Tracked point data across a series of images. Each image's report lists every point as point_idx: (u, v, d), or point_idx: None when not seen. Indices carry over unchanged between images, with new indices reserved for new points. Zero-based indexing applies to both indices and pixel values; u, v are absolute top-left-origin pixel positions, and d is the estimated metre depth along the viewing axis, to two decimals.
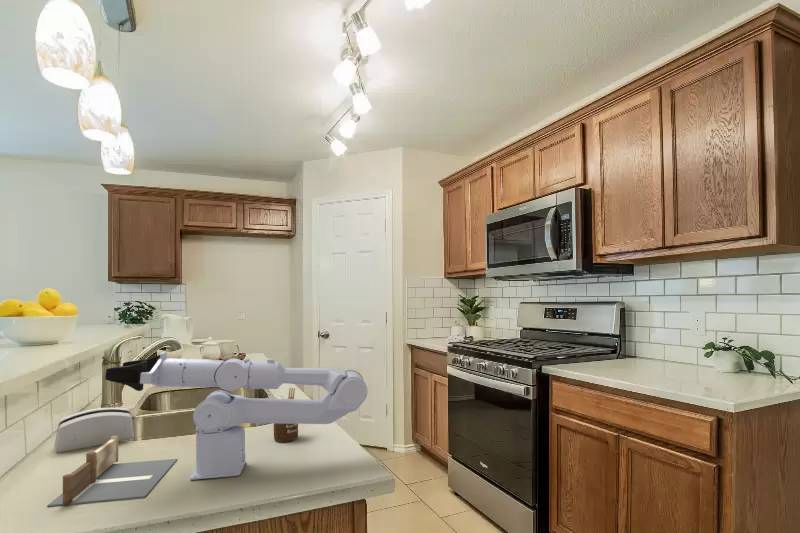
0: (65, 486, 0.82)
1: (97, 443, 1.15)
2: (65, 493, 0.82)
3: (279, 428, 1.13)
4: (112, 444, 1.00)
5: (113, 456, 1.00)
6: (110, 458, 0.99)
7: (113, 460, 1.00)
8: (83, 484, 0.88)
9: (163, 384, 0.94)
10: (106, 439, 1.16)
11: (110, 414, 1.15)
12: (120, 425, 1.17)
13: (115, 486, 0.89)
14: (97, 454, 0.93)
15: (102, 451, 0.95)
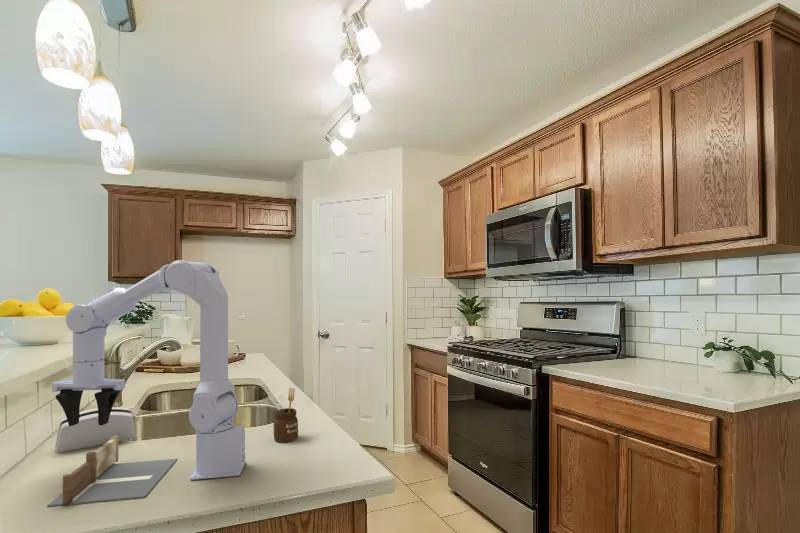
0: (65, 486, 0.82)
1: (98, 443, 1.16)
2: (65, 493, 0.82)
3: (279, 428, 1.13)
4: (112, 444, 1.00)
5: (113, 456, 1.00)
6: (110, 458, 0.99)
7: (113, 460, 1.00)
8: (83, 484, 0.88)
9: (73, 380, 0.98)
10: (107, 439, 1.17)
11: (111, 414, 1.16)
12: (121, 425, 1.18)
13: (115, 486, 0.89)
14: (97, 454, 0.93)
15: (102, 451, 0.95)
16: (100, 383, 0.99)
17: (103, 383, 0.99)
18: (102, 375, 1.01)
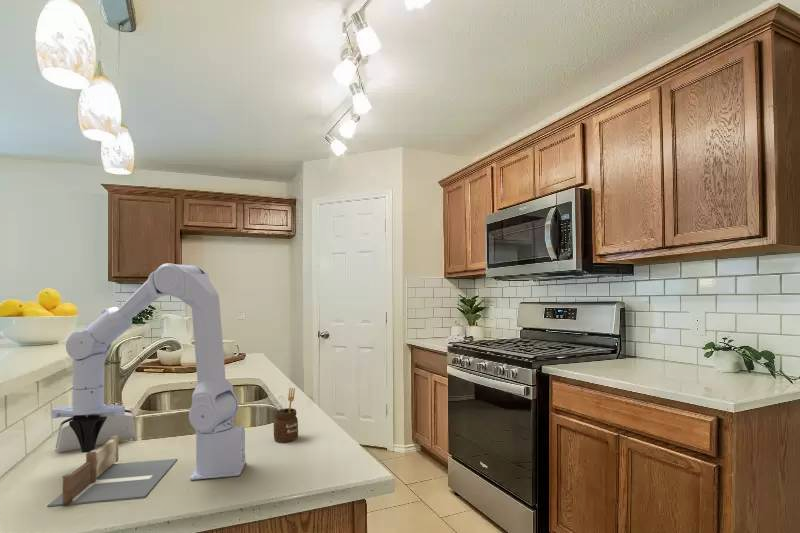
0: (65, 486, 0.82)
1: (99, 443, 1.16)
2: (65, 493, 0.82)
3: (279, 428, 1.13)
4: (112, 444, 1.00)
5: (113, 456, 1.00)
6: (110, 458, 0.99)
7: (113, 460, 1.00)
8: (83, 484, 0.88)
9: (73, 406, 0.98)
10: (108, 439, 1.17)
11: None
12: (122, 424, 1.18)
13: (115, 486, 0.89)
14: (97, 454, 0.93)
15: (102, 451, 0.95)
16: (100, 409, 0.98)
17: (103, 410, 0.98)
18: (102, 401, 1.00)
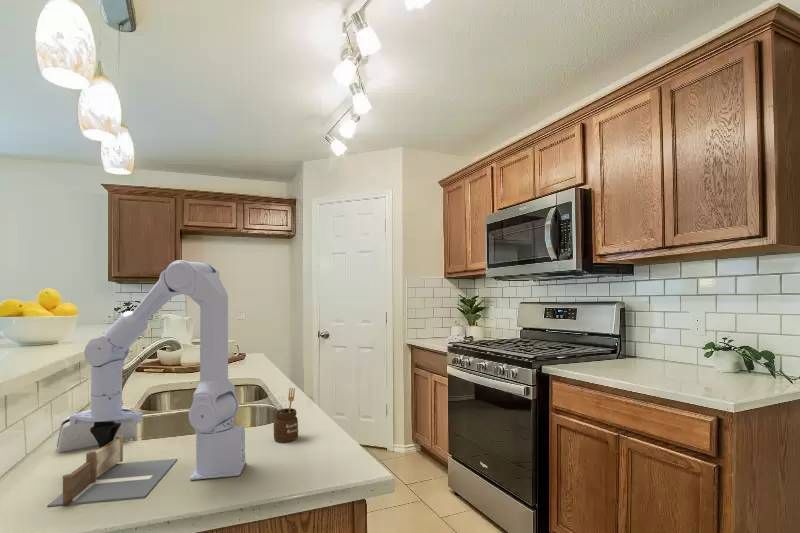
0: (65, 486, 0.82)
1: None
2: (65, 493, 0.82)
3: (279, 428, 1.13)
4: (115, 444, 1.00)
5: (117, 456, 1.00)
6: (113, 458, 0.99)
7: (116, 460, 1.00)
8: (83, 484, 0.88)
9: (91, 413, 0.98)
10: None
11: None
12: (123, 424, 1.18)
13: (115, 486, 0.89)
14: (98, 454, 0.93)
15: (104, 451, 0.95)
16: (118, 416, 0.98)
17: (121, 417, 0.98)
18: (120, 408, 1.00)
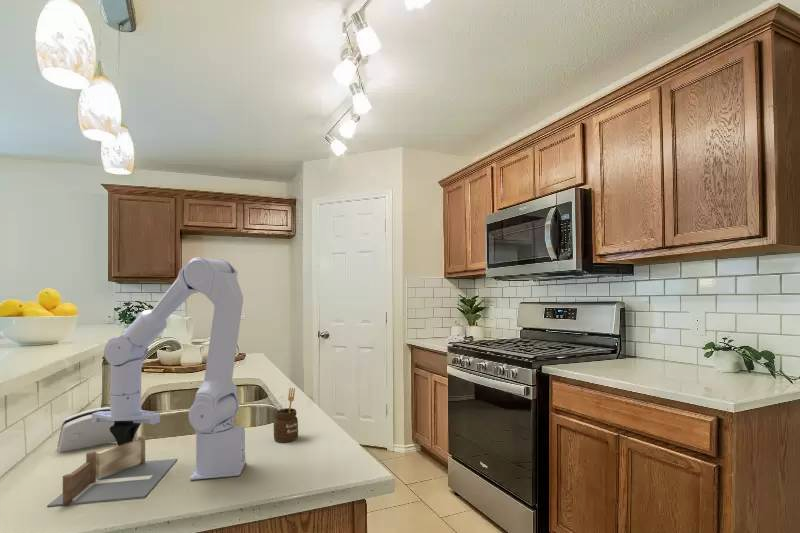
0: (65, 486, 0.82)
1: (100, 442, 1.16)
2: (65, 493, 0.82)
3: (279, 428, 1.13)
4: (132, 445, 0.99)
5: (135, 457, 0.99)
6: (128, 459, 0.98)
7: (134, 462, 0.99)
8: (83, 484, 0.88)
9: (110, 412, 0.98)
10: (110, 438, 1.17)
11: None
12: None
13: (115, 486, 0.89)
14: (100, 455, 0.93)
15: (111, 451, 0.95)
16: (136, 416, 0.98)
17: (138, 417, 0.98)
18: (138, 408, 1.00)
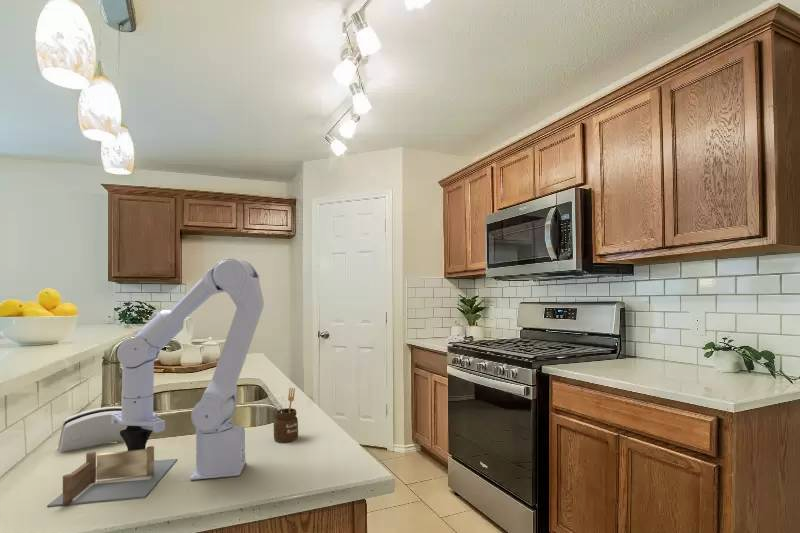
0: (65, 486, 0.82)
1: (101, 442, 1.16)
2: (65, 493, 0.82)
3: (279, 428, 1.13)
4: (136, 454, 0.93)
5: (139, 468, 0.93)
6: (131, 468, 0.93)
7: (138, 472, 0.93)
8: (83, 484, 0.88)
9: (121, 415, 0.95)
10: (110, 438, 1.17)
11: None
12: None
13: (115, 486, 0.89)
14: (98, 457, 0.92)
15: (111, 456, 0.92)
16: (141, 422, 0.93)
17: (143, 423, 0.92)
18: (147, 413, 0.95)
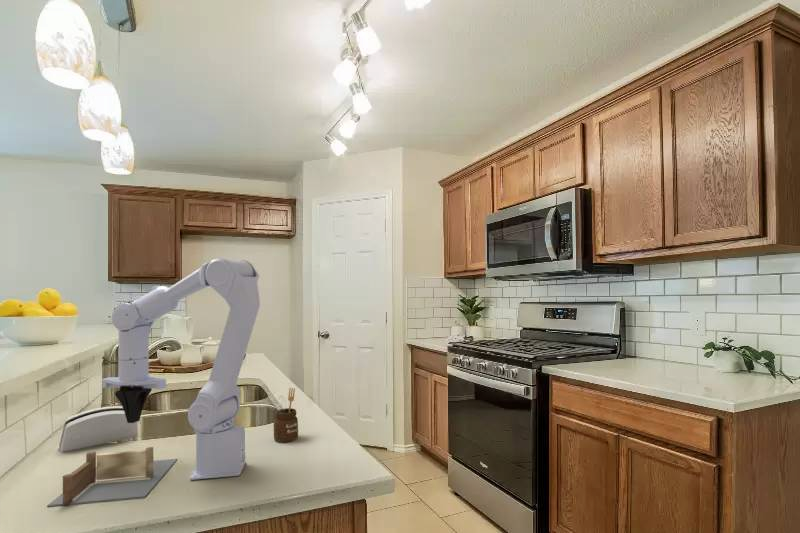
0: (65, 486, 0.82)
1: (102, 442, 1.16)
2: (65, 493, 0.82)
3: (279, 428, 1.13)
4: (135, 455, 0.93)
5: (138, 468, 0.93)
6: (130, 469, 0.92)
7: (137, 473, 0.93)
8: (83, 484, 0.88)
9: (118, 377, 0.99)
10: (111, 438, 1.17)
11: (116, 413, 1.17)
12: (125, 423, 1.19)
13: (115, 486, 0.89)
14: (98, 457, 0.91)
15: (110, 456, 0.92)
16: (142, 381, 0.99)
17: (145, 382, 0.99)
18: (145, 373, 1.01)
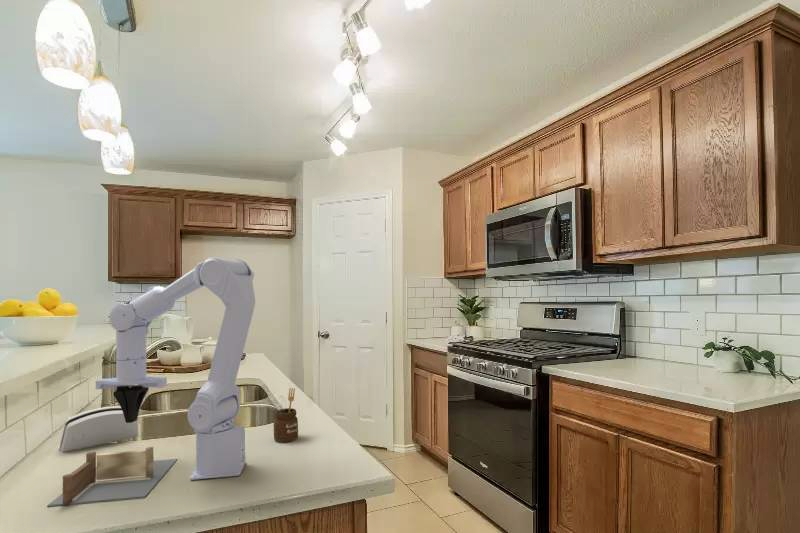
0: (65, 486, 0.82)
1: (103, 442, 1.16)
2: (65, 493, 0.82)
3: (279, 428, 1.13)
4: (135, 455, 0.93)
5: (138, 468, 0.93)
6: (130, 469, 0.92)
7: (137, 473, 0.93)
8: (83, 484, 0.88)
9: (117, 377, 1.00)
10: (112, 438, 1.18)
11: (117, 412, 1.17)
12: (126, 423, 1.19)
13: (115, 486, 0.89)
14: (98, 457, 0.91)
15: (110, 456, 0.92)
16: (143, 380, 1.00)
17: (146, 381, 1.00)
18: (144, 373, 1.02)
